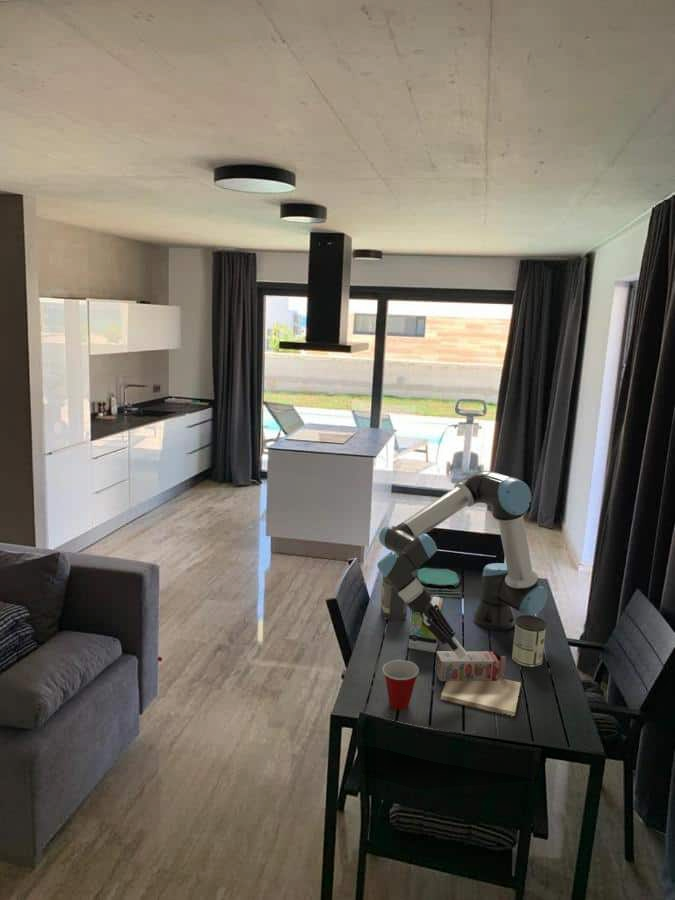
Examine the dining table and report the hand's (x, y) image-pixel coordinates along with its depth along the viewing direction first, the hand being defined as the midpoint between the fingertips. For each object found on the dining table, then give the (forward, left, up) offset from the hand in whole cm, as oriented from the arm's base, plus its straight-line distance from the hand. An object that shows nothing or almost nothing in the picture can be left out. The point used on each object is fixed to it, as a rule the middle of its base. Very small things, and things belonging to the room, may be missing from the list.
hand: (463, 656), depth 209 cm
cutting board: (-6, +3, -11) cm, 13 cm away
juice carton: (+6, -5, -6) cm, 10 cm away
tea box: (+2, -31, -11) cm, 33 cm away
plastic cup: (+22, +7, -11) cm, 26 cm away
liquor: (+8, -53, -11) cm, 55 cm away
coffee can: (-30, -16, -11) cm, 36 cm away
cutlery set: (-20, -83, -12) cm, 86 cm away
